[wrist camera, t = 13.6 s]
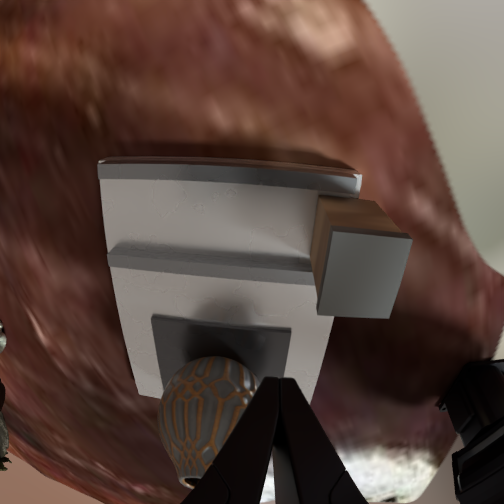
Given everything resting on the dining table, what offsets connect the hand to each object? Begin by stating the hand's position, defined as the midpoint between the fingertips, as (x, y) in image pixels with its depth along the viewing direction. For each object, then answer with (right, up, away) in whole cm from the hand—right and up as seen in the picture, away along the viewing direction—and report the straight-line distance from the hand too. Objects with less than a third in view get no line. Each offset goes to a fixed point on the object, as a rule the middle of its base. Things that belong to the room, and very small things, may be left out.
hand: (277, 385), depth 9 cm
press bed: (-3, 0, +12) cm, 13 cm away
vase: (-3, -5, +13) cm, 15 cm away
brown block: (+4, +5, +8) cm, 10 cm away
